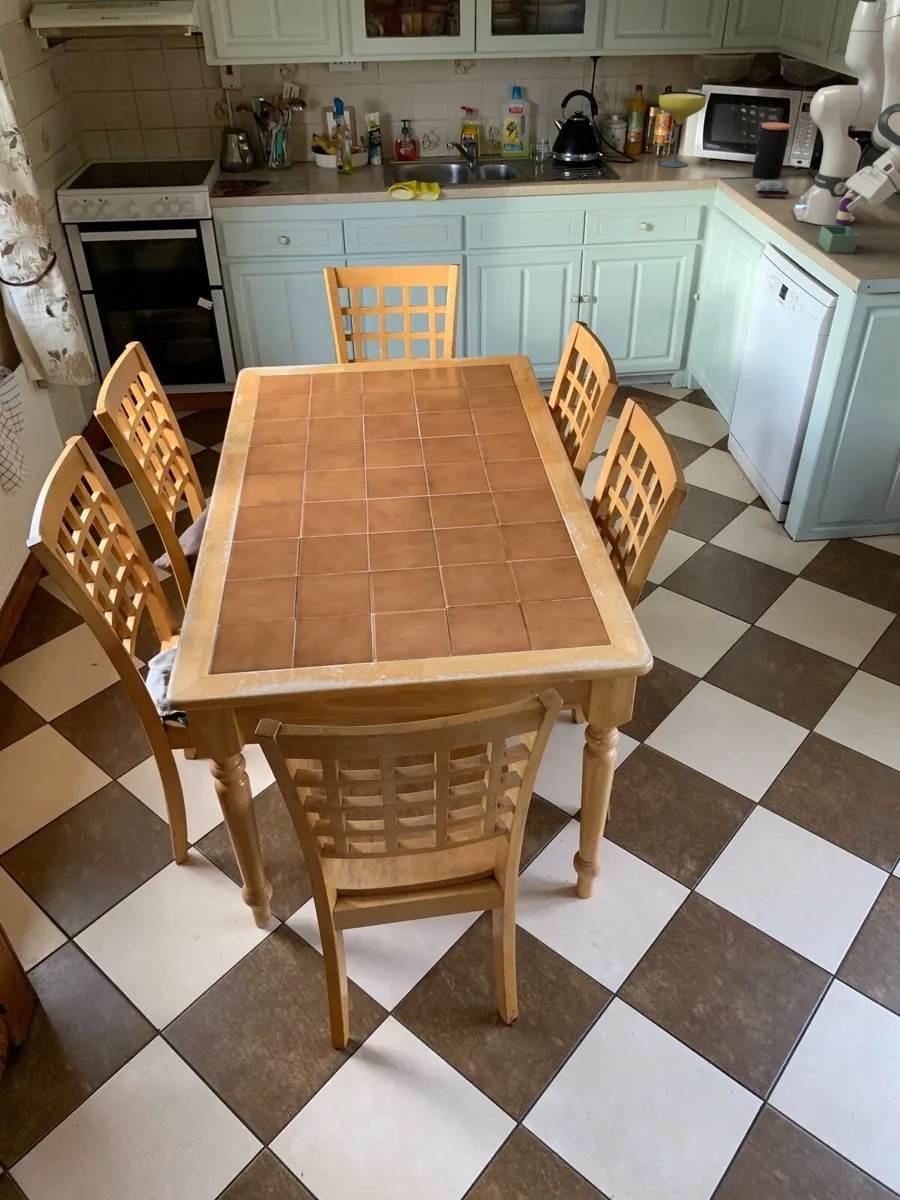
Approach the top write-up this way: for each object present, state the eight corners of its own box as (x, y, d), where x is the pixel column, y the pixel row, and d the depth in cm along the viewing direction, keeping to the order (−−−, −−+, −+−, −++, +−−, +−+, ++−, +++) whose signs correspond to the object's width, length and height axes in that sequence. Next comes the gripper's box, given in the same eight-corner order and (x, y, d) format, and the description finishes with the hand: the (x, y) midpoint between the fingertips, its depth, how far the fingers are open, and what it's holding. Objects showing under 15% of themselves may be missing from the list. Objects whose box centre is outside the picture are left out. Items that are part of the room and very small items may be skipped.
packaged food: (753, 192, 324) (756, 177, 321) (787, 193, 322) (790, 179, 319) (754, 198, 317) (757, 183, 314) (789, 200, 315) (792, 185, 312)
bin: (817, 243, 272) (821, 225, 269) (842, 243, 272) (847, 226, 268) (828, 252, 264) (832, 235, 261) (854, 252, 264) (859, 235, 261)
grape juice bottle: (833, 221, 265) (840, 192, 260) (846, 221, 265) (853, 192, 260) (837, 224, 262) (845, 195, 257) (850, 224, 262) (858, 195, 257)
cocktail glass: (646, 167, 358) (655, 96, 342) (656, 158, 371) (665, 90, 356) (691, 171, 352) (702, 99, 337) (699, 162, 365) (710, 93, 350)
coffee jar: (760, 172, 350) (770, 121, 339) (785, 176, 344) (796, 124, 333) (746, 176, 344) (756, 124, 333) (771, 180, 338) (782, 128, 327)
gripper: (868, 155, 262) (826, 190, 267) (895, 169, 245) (850, 207, 251) (879, 171, 264) (837, 206, 270) (906, 187, 248) (861, 224, 254)
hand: (844, 207), depth 260 cm, fingers closed on grape juice bottle, 4 cm apart
